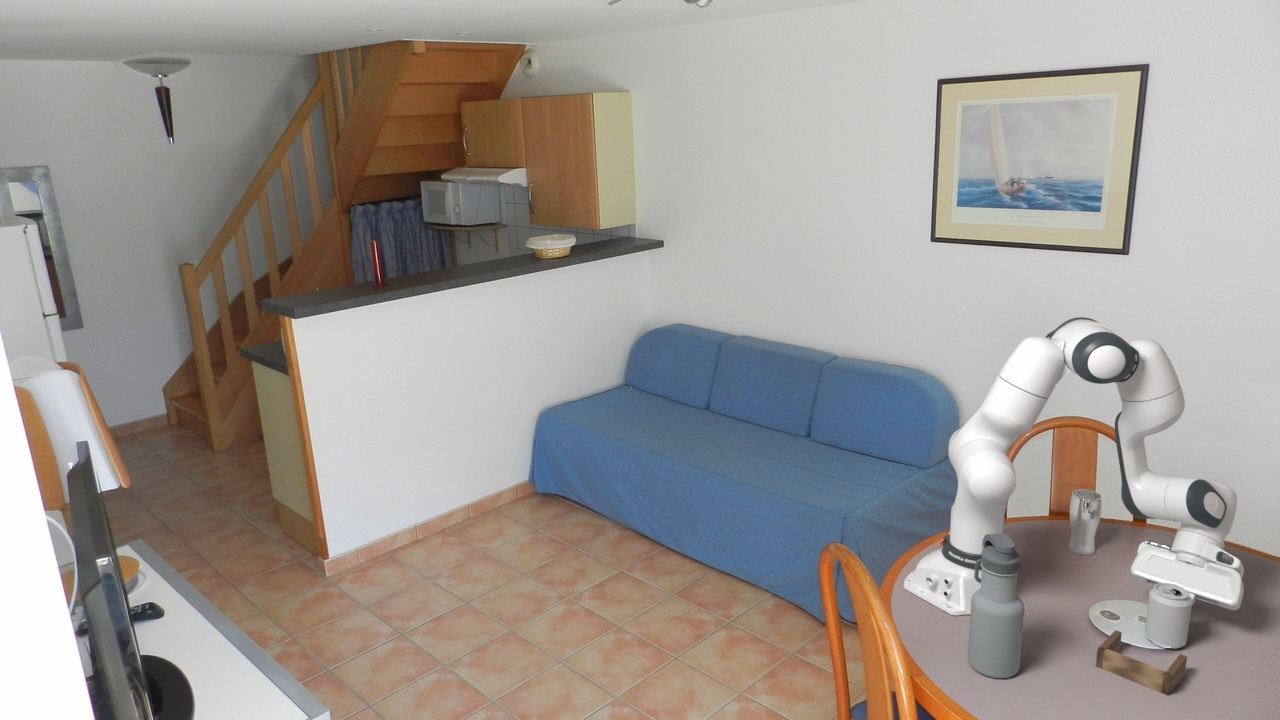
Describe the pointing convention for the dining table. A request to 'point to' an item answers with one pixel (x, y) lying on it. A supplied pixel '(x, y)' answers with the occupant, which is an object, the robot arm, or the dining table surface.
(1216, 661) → the dining table surface
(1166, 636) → the can
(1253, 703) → the dining table surface
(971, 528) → the robot arm
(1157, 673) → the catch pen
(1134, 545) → the dining table surface
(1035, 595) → the dining table surface
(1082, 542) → the beer glass
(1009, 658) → the water bottle
